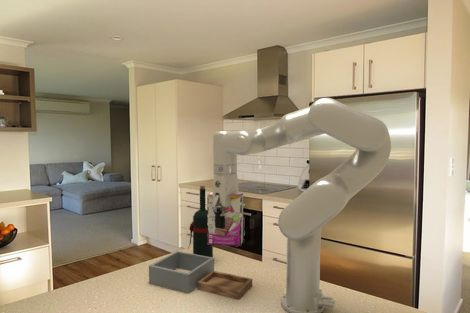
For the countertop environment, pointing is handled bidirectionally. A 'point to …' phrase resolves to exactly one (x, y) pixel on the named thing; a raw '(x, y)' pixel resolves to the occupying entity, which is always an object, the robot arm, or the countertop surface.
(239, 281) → the walnut tray
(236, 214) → the candy bar box
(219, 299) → the countertop surface
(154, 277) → the deep bin
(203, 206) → the wine bottle
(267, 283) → the countertop surface
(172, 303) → the countertop surface
